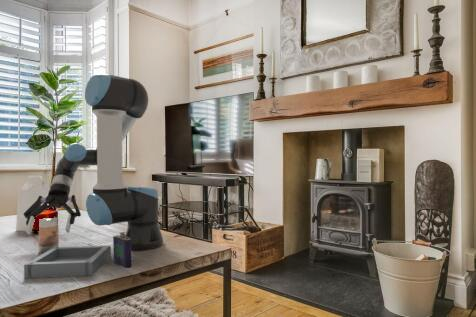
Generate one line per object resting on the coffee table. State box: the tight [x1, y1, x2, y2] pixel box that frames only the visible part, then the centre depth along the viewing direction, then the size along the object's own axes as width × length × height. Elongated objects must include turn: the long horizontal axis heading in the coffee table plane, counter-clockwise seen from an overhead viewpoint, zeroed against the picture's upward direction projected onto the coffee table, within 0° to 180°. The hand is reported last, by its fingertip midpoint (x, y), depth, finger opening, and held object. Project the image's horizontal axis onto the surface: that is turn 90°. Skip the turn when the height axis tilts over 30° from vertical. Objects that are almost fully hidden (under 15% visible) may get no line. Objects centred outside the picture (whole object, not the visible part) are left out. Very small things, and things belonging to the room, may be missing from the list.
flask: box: [112, 231, 133, 269], centre depth 109 cm, size 9×3×11 cm, turn 48°
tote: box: [23, 244, 112, 279], centre depth 107 cm, size 19×19×4 cm
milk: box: [15, 175, 51, 232], centre depth 167 cm, size 12×12×26 cm
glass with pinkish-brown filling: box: [38, 217, 60, 254], centre depth 126 cm, size 6×6×12 cm
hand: (47, 231), depth 127 cm, fingers open, 13 cm apart
